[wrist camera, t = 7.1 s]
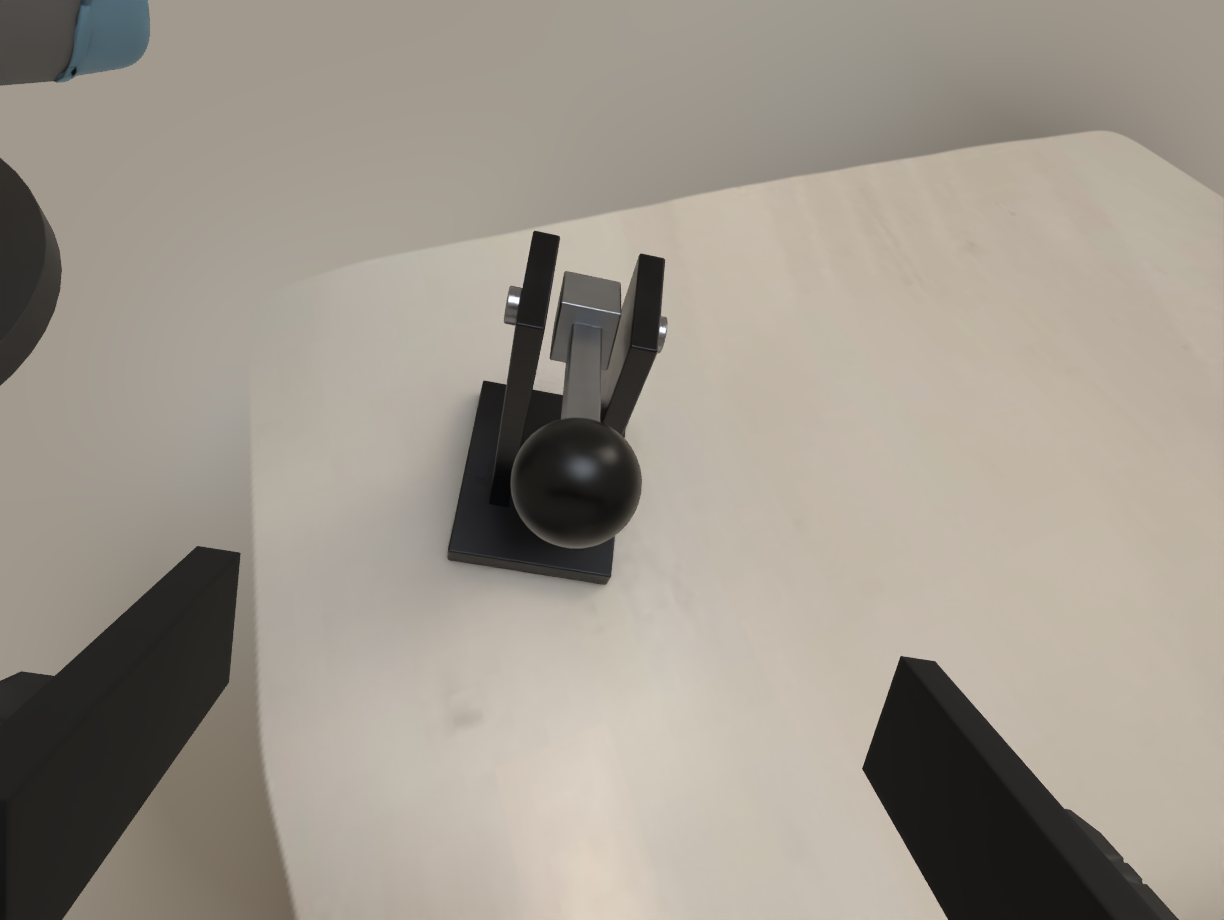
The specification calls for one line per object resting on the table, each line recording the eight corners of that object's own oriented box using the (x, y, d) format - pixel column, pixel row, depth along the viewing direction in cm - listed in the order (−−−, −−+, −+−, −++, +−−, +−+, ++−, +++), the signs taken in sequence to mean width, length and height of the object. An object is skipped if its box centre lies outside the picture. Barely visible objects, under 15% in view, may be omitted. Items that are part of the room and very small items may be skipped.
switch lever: (626, 585, 22) (659, 483, 20) (494, 564, 21) (514, 457, 19) (621, 352, 32) (642, 271, 30) (533, 335, 32) (549, 251, 30)
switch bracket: (606, 585, 40) (696, 428, 27) (447, 559, 39) (456, 383, 26) (623, 418, 45) (706, 212, 32) (482, 391, 44) (505, 168, 30)
